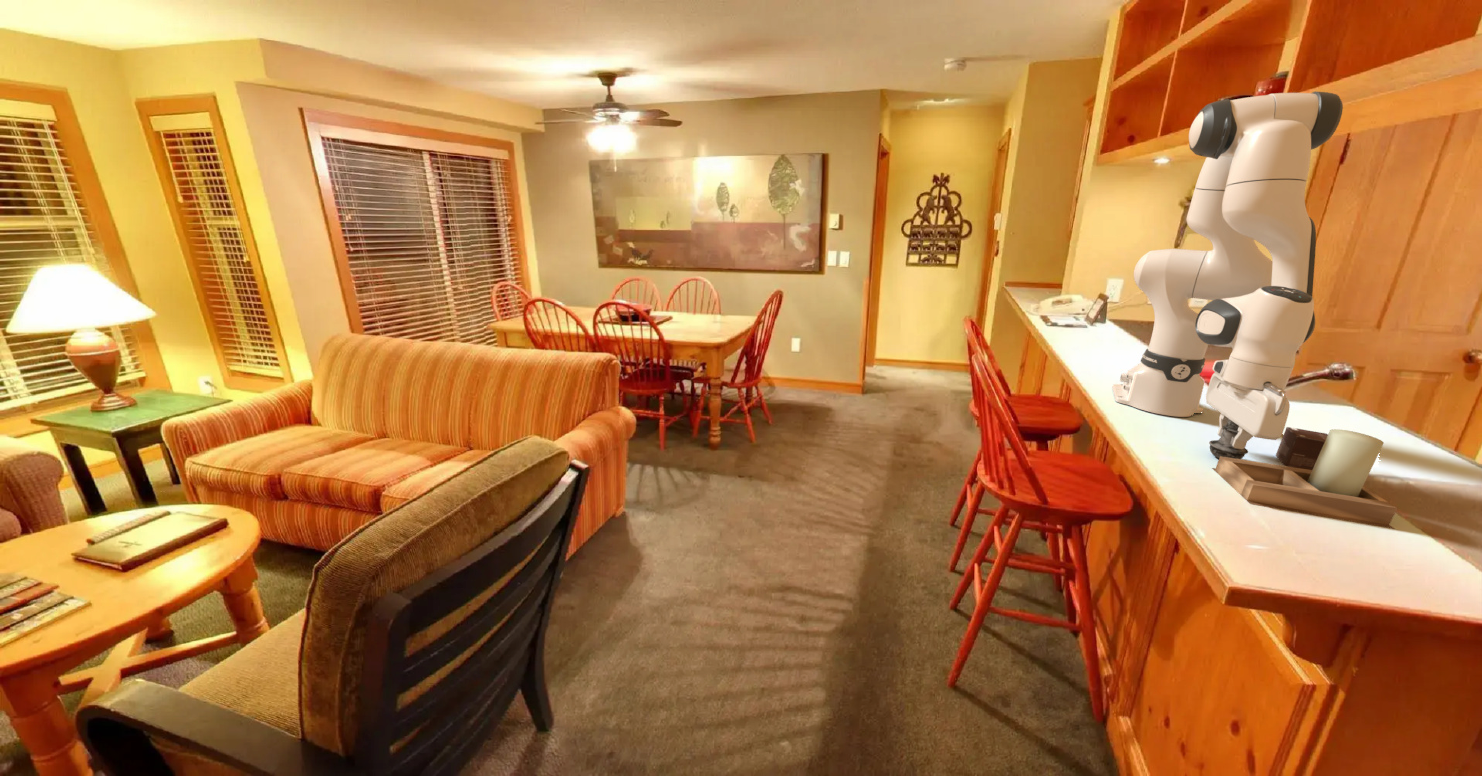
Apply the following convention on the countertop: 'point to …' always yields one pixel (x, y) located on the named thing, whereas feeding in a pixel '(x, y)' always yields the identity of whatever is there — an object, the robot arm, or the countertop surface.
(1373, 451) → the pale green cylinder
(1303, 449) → the box
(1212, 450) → the dark grey chess piece
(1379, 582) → the countertop surface
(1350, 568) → the countertop surface
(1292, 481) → the divided wooden tray
